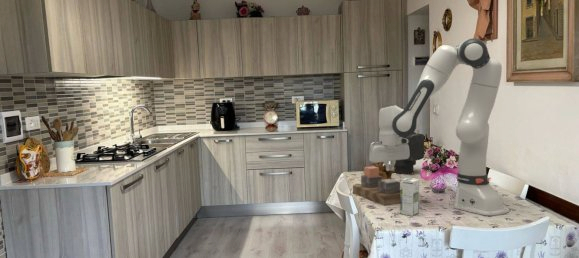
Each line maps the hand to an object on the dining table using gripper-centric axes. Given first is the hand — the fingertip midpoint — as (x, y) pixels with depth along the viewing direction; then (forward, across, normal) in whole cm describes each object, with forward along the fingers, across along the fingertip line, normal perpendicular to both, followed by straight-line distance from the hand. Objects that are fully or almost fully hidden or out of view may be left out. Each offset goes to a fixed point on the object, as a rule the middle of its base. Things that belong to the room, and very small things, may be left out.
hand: (389, 170), depth 201 cm
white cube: (+10, 0, +1) cm, 10 cm away
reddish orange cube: (+5, 0, +14) cm, 15 cm away
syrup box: (+15, -6, -20) cm, 26 cm away
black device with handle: (+14, +46, +49) cm, 69 cm away
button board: (+14, -1, +8) cm, 16 cm away
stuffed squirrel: (+14, +20, +35) cm, 42 cm away
